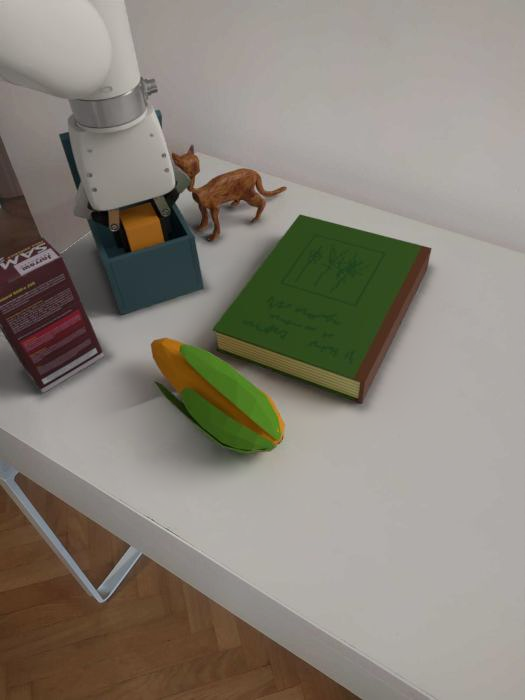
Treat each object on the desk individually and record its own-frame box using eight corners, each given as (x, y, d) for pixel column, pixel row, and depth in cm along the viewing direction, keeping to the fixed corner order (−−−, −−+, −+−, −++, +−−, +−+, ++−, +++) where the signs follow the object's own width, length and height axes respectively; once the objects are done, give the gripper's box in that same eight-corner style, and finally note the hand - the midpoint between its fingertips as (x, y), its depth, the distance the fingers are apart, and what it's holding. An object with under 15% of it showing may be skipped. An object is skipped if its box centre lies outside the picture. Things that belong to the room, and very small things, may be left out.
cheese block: (133, 259, 71) (125, 230, 67) (125, 240, 73) (117, 211, 70) (166, 249, 72) (159, 220, 68) (157, 231, 74) (150, 202, 71)
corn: (248, 443, 52) (117, 335, 61) (249, 487, 57) (129, 381, 67) (302, 397, 55) (170, 302, 65) (299, 443, 61) (178, 349, 71)
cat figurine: (274, 185, 92) (270, 101, 82) (300, 203, 89) (299, 118, 78) (179, 231, 86) (161, 146, 76) (202, 252, 82) (188, 166, 72)
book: (362, 403, 63) (364, 382, 60) (215, 350, 70) (212, 329, 67) (428, 266, 77) (433, 244, 75) (302, 232, 84) (301, 211, 81)
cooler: (203, 288, 77) (194, 236, 71) (121, 315, 75) (103, 263, 68) (172, 229, 86) (161, 178, 80) (98, 252, 84) (80, 201, 77)
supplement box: (86, 336, 72) (43, 234, 61) (106, 357, 70) (64, 255, 58) (23, 372, 69) (-36, 271, 57) (41, 396, 66) (-17, 296, 55)
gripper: (175, 69, 63) (198, 210, 77) (20, 105, 59) (74, 246, 73) (197, 97, 58) (217, 241, 72) (30, 138, 55) (85, 282, 68)
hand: (145, 242), depth 72 cm, fingers closed on cheese block, 4 cm apart
